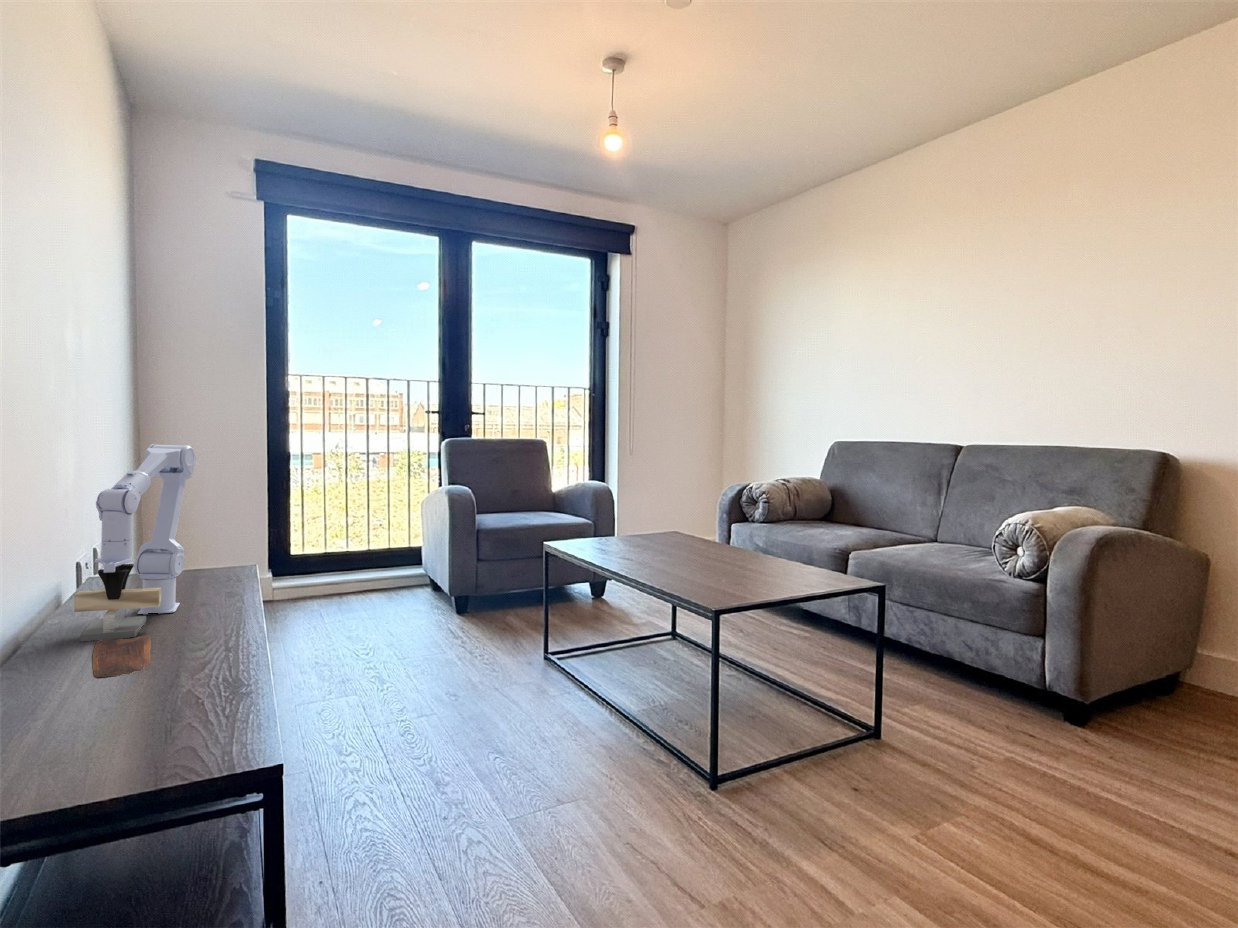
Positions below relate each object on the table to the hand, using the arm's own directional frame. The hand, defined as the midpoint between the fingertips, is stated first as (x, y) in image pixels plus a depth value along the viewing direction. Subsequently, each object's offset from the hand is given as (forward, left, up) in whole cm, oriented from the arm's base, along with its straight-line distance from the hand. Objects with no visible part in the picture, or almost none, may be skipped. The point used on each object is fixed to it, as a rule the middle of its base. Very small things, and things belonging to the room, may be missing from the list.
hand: (115, 597), depth 156 cm
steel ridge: (0, 0, -6) cm, 6 cm away
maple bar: (0, +1, -2) cm, 3 cm away
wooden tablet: (+21, +5, -9) cm, 23 cm away
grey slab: (0, 0, -8) cm, 8 cm away
